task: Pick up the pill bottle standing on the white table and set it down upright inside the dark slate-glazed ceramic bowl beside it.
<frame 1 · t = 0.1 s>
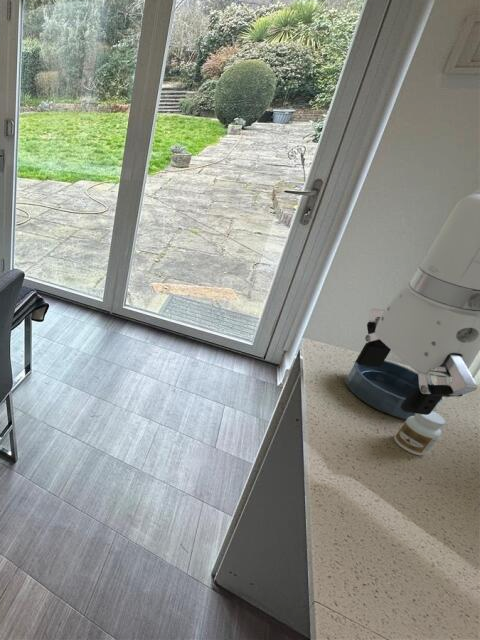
hand: (389, 386, 61), 20 cm above the countertop, tool pointing down, fingers open, 9 cm apart
bowl: (384, 397, 86), on the countertop
pill bottle: (409, 446, 75), on the countertop
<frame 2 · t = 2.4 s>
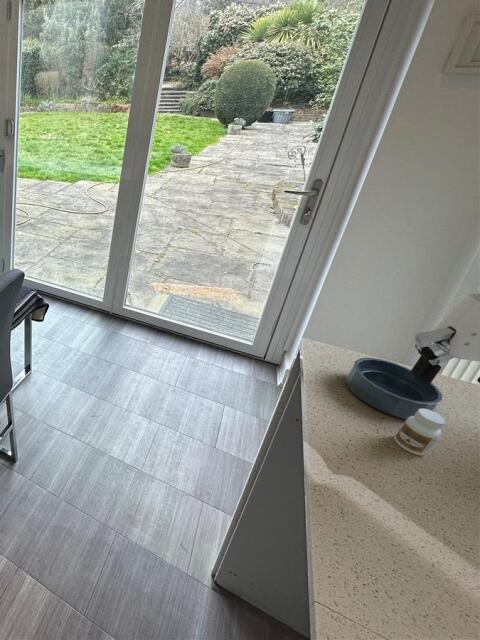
hand: (452, 383, 68), 16 cm above the countertop, tool pointing down, fingers open, 9 cm apart
nothing on the countertop moved.
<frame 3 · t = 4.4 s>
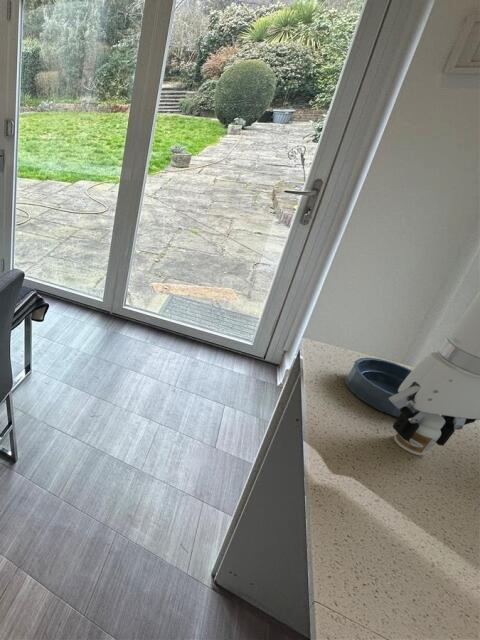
hand: (417, 435, 74), 3 cm above the countertop, tool pointing down, fingers closed on pill bottle, 4 cm apart
pill bottle: (409, 446, 75), on the countertop, touching gripper
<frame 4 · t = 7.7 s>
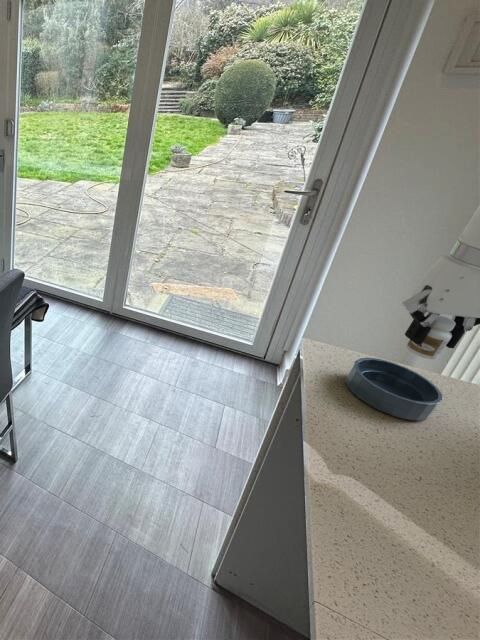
hand: (428, 340, 77), 16 cm above the countertop, tool pointing down, fingers closed on pill bottle, 4 cm apart
pill bottle: (420, 353, 79), point 13 cm above the countertop, touching gripper
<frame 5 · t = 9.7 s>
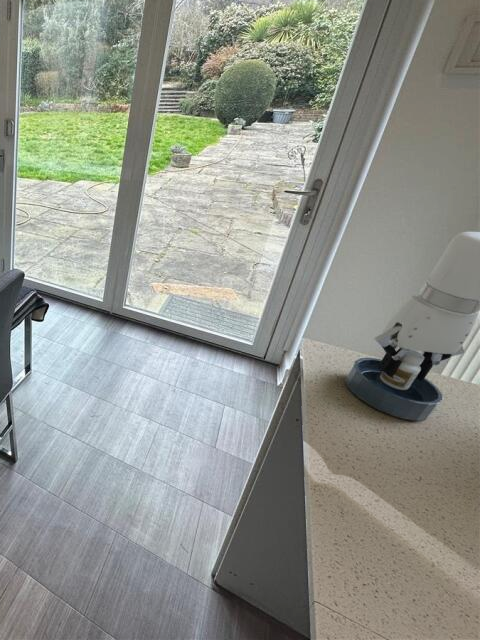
hand: (400, 372, 83), 7 cm above the countertop, tool pointing down, fingers closed on pill bottle, 4 cm apart
pill bottle: (392, 383, 84), point 4 cm above the countertop, touching gripper
when the fingers open (3 cm above the countertop, at t = 11.0 s): pill bottle stays where it is, resting on bowl.
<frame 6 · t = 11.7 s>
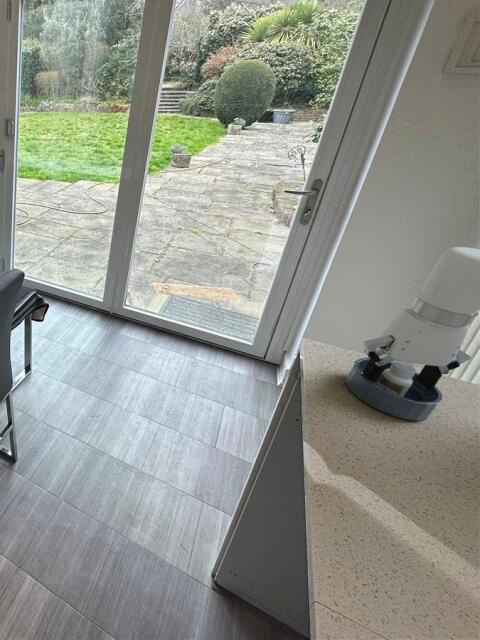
hand: (396, 380, 84), 5 cm above the countertop, tool pointing down, fingers open, 9 cm apart
pill bottle: (385, 395, 86), resting on bowl
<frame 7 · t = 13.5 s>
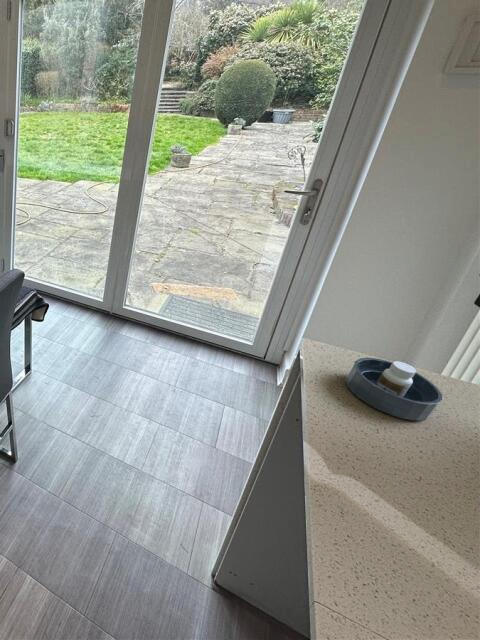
nothing on the countertop moved.
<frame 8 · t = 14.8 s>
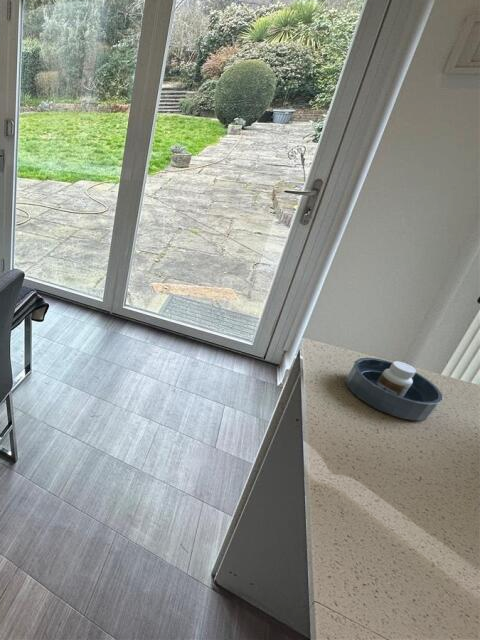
nothing on the countertop moved.
at the end: pill bottle inside the target area in the bowl (0.0 cm from its centre), point 0.4 cm above the bowl's base; pill bottle tilted 0°; the gripper is holding nothing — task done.
